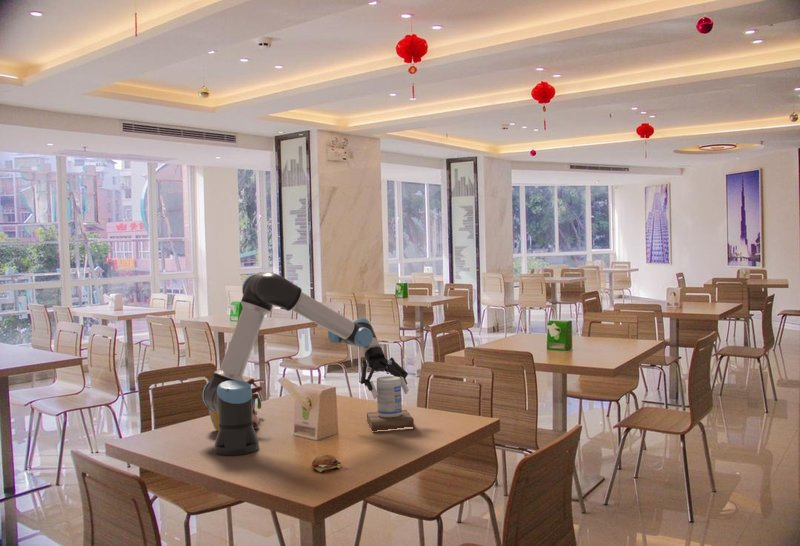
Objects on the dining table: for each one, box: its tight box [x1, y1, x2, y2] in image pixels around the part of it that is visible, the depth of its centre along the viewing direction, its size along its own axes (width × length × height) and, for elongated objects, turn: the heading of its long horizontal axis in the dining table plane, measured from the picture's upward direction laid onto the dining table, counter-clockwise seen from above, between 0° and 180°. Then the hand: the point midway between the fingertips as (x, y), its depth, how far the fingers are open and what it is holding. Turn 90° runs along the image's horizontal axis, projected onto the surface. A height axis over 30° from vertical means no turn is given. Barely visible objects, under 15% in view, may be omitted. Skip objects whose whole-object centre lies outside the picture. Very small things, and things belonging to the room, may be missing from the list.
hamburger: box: [311, 454, 349, 473], centre depth 218 cm, size 14×14×6 cm
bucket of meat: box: [207, 378, 263, 431], centre depth 271 cm, size 20×16×20 cm
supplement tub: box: [376, 375, 403, 418], centre depth 269 cm, size 10×10×15 cm
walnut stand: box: [366, 409, 415, 432], centre depth 269 cm, size 16×16×4 cm
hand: (391, 394), depth 267 cm, fingers open, 13 cm apart
